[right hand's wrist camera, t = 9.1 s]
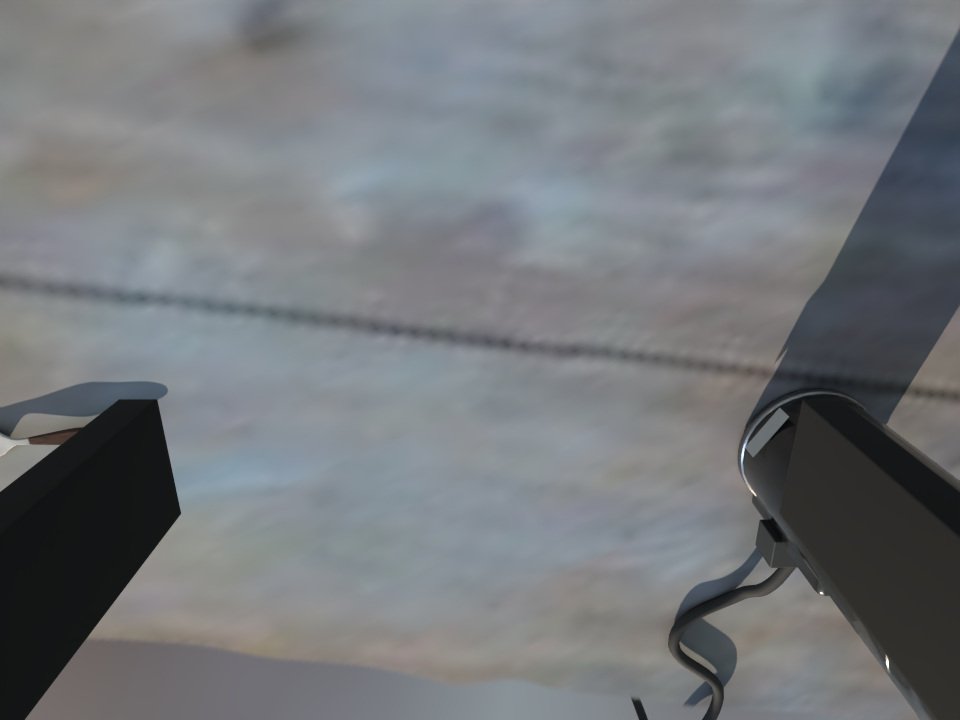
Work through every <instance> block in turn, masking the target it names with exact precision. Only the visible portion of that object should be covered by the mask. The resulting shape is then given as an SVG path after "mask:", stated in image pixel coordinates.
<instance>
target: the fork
mask: <svg viewBox="0 0 960 720" xmlns="http://www.w3.org/2000/svg"><path fill="white" fill-rule="evenodd" d="M81 429H82V428H73V429H67V430H61V431H57V432H52V433H47V434H43V435H38V436H33V437H28V438H22V439H14V438H11V437H8V436H6V435H4V434H2V433H0V456H2V455H4V454H5V453H6V452H7V451H9V450H10V449H11V448H12V447H13V446H16V445H23V444H39V445H61V444H63V443H64V442H65V441H67V440H68V439H69V438H70V437H72V436H73V435H74V434H76V433H77V432H78V431H80V430H81Z"/></svg>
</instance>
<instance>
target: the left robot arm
mask: <svg viewBox="0 0 960 720" xmlns="http://www.w3.org/2000/svg"><path fill="white" fill-rule="evenodd" d="M803 400H842V401H843V402H844V403H846V404H847V405H848V406H850V407H851V408H852V409H853V410H855V411H856V412H857V413H859V414H860V415H861V416H862V417H864V418H865V419H866V420H868V421H869V422H870V423H871V424H873V425H874V426H875V427H877V428H878V429H879V430H880V431H882V432H883V433H884V434H886V435H887V436H888V437H889V438H891V439H892V440H893V441H895V442H896V443H897V444H899V445H900V446H901V447H902V448H904V449H905V450H906V451H908V452H909V453H910V454H911V455H913V456H914V457H915V458H917V459H918V460H919V461H920V462H922V463H923V464H924V465H926V466H927V467H928V468H929V469H931V470H932V471H933V472H935V473H936V474H937V475H938V476H940V477H941V478H942V479H944V480H945V481H946V482H947V483H949V484H950V485H951V486H953V487H954V488H955V489H956V490H958V491H959V492H960V481H959V480H958V479H957V478H955V477H954V476H953V475H951V474H950V473H949V472H947V471H946V470H945V469H943V468H942V467H941V466H939V465H938V464H937V463H935V462H934V461H933V460H932V459H930V458H929V457H928V456H926V455H925V454H924V453H922V452H921V451H920V450H918V449H917V448H916V447H914V446H913V445H912V444H910V443H909V442H908V441H906V440H905V439H904V438H903V437H901V436H900V435H899V434H897V433H896V432H895V431H893V430H892V429H891V428H889V427H888V426H887V425H885V424H884V423H883V422H881V421H880V420H879V419H878V418H876V417H875V416H874V415H872V414H871V413H870V412H869V411H868V410H867V409H866V408H865V407H864V406H863V405H861V404H860V403H859V402H857V401H856V400H855V399H853V398H852V397H850V396H848V395H846V394H844V393H842V392H839V391H835V390H831V389H819V388H816V389H806V390H801V391H796V392H793V393H790V394H788V395H785V396H783V397H781V398H779V399H777V400H775V401H774V402H772V403H770V404H769V405H768V406H766V407H765V408H764V409H763V410H762V411H760V412H759V413H758V414H757V415H756V416H755V417H754V419H753V420H752V421H751V422H750V424H749V425H748V427H747V428H746V430H745V432H744V434H743V436H742V439H741V442H740V445H739V450H738V466H739V470H740V474H741V476H742V478H743V480H744V482H745V483H746V485H747V486H748V487H749V489H750V490H751V491H752V493H753V499H752V503H753V504H754V506H755V507H756V509H757V510H758V511H759V513H760V514H761V516H762V517H763V518H764V520H760V522H759V528H758V533H757V539H756V546H757V548H758V549H759V551H760V553H761V554H762V556H763V557H764V559H765V560H766V562H767V563H768V565H769V566H770V568H778V569H777V570H776V571H775V572H774V573H773V574H772V575H771V576H770V577H769V578H768V579H766V580H765V581H763V582H762V583H760V584H757V585H749V586H743V587H740V588H737V589H735V590H733V591H731V592H729V593H726V594H724V595H721V596H719V597H717V598H714V599H712V600H709V601H707V602H705V603H703V604H701V605H698V606H696V607H695V608H693V609H691V610H690V611H688V612H687V613H685V614H684V615H683V616H681V617H680V618H679V619H678V620H677V621H676V623H675V624H674V626H673V627H672V629H671V632H670V634H669V642H668V646H669V649H670V652H671V654H672V655H673V657H674V658H675V659H676V660H677V661H678V662H679V663H680V664H681V665H683V666H684V667H685V668H687V669H688V670H690V671H692V672H693V673H695V674H696V675H698V676H700V677H701V678H702V679H704V680H705V681H706V682H708V683H709V684H710V685H711V687H712V690H713V697H712V701H711V704H710V706H709V708H708V711H707V713H706V714H705V716H704V718H703V719H702V720H716V719H717V717H718V715H719V713H720V710H721V707H722V704H723V699H724V690H723V686H722V684H721V682H720V681H719V679H718V678H717V677H716V676H715V675H714V674H713V673H712V672H711V671H710V670H708V669H707V668H705V667H704V666H702V665H701V664H699V663H698V662H696V661H695V660H693V659H691V658H690V657H689V656H687V655H686V654H685V653H684V652H683V651H682V650H681V648H680V645H679V642H680V638H681V636H682V634H683V633H684V631H685V630H686V629H687V628H688V627H689V626H690V625H691V624H692V623H694V622H695V621H697V620H699V619H700V618H702V617H704V616H706V615H708V614H710V613H713V612H715V611H717V610H720V609H722V608H725V607H727V606H730V605H732V604H735V603H737V602H739V601H741V600H744V599H746V598H750V597H761V596H765V595H768V594H770V593H771V592H773V591H774V590H776V589H777V588H778V587H779V586H780V585H781V584H782V583H783V582H784V581H785V580H786V579H787V578H788V577H789V575H790V574H791V573H792V572H793V571H794V569H795V568H796V567H798V568H799V569H800V571H801V572H802V573H803V575H804V576H805V578H806V579H807V580H808V582H809V583H810V585H811V586H812V587H813V589H814V590H815V591H816V592H817V593H819V594H820V595H823V596H830V597H831V598H832V600H833V601H834V603H835V604H836V605H837V607H838V608H839V609H840V611H841V612H842V613H843V615H844V616H845V618H846V619H847V620H848V622H849V623H850V624H851V626H852V627H853V628H854V630H855V631H856V633H857V634H858V635H859V636H860V638H861V639H862V640H863V642H864V643H865V644H866V646H867V647H868V648H869V650H870V651H871V653H872V654H873V655H874V657H875V658H876V659H877V661H878V662H879V663H880V665H881V666H882V668H883V669H884V670H885V672H886V673H887V674H888V676H889V677H890V678H891V680H892V681H893V683H894V684H895V685H896V687H897V688H898V690H899V691H900V692H901V694H902V695H903V696H904V698H905V699H906V700H907V702H908V703H909V705H910V706H911V707H912V709H913V710H914V712H915V713H916V714H917V716H918V717H919V718H920V720H935V719H934V717H933V716H932V715H931V713H930V712H929V711H928V709H927V708H926V707H925V705H924V704H923V703H922V701H921V700H920V699H919V697H918V696H917V695H916V694H915V692H914V691H913V690H912V688H911V687H910V686H909V684H908V683H907V682H906V680H905V679H904V678H903V676H902V675H901V674H900V672H899V671H898V670H897V668H896V667H895V666H894V665H893V663H892V662H891V661H890V659H889V658H888V657H887V655H886V654H885V653H884V651H883V650H882V649H881V647H880V646H879V645H878V643H877V642H876V641H875V640H874V638H873V637H872V636H871V634H870V633H869V632H868V630H867V629H866V628H865V626H864V625H863V624H862V622H861V621H860V620H859V618H858V617H857V616H856V614H855V613H854V612H853V611H852V609H851V608H850V607H849V605H848V604H847V603H846V601H845V600H844V599H843V597H842V596H841V595H840V593H839V592H838V591H837V589H836V588H835V587H834V585H833V584H832V583H831V582H830V580H829V579H828V578H827V576H826V575H825V574H824V572H823V571H822V570H821V568H820V567H819V566H818V564H817V563H816V562H815V560H814V559H813V558H812V556H811V555H810V554H809V553H808V551H807V550H806V549H805V547H804V546H803V545H802V543H801V542H800V541H799V539H798V538H797V537H796V535H795V534H794V533H793V531H792V530H791V529H790V527H789V526H788V525H787V524H786V522H785V521H784V520H783V518H782V517H781V516H780V514H779V511H780V506H781V502H782V497H783V492H784V487H785V482H786V478H787V473H788V468H789V463H790V459H791V454H792V449H793V444H794V440H795V435H796V430H797V425H798V420H799V416H800V411H801V406H802V401H803ZM631 700H632V702H633V705H634V708H635V710H636V713H637V716H638V719H639V720H648V718H647V715H646V712H645V710H644V707H643V705H642V702H641V700H640V699H635V698H631Z"/></svg>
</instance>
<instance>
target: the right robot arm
mask: <svg viewBox="0 0 960 720" xmlns="http://www.w3.org/2000/svg"><path fill="white" fill-rule="evenodd" d="M180 514H181V511H180V506H179V502H178V497H177V492H176V487H175V482H174V478H173V473H172V468H171V463H170V459H169V454H168V449H167V444H166V440H165V435H164V430H163V425H162V420H161V416H160V411H159V406H158V401H157V400H118V401H117V402H116V403H114V404H113V405H112V406H110V407H109V408H108V409H107V410H105V411H104V412H103V413H101V414H100V415H99V416H98V417H96V418H95V419H94V420H92V421H91V422H90V423H89V424H87V425H86V426H85V427H83V428H82V429H81V430H80V431H78V432H77V433H76V434H74V435H73V436H72V437H70V438H69V439H68V440H67V441H65V442H64V443H63V444H61V445H60V446H59V447H58V448H56V449H55V450H54V451H52V452H51V453H50V454H49V455H47V456H46V457H45V458H43V459H42V460H41V461H40V462H38V463H37V464H36V465H34V466H33V467H32V468H31V469H29V470H28V471H27V472H25V473H24V474H23V475H22V476H20V477H19V478H18V479H16V480H15V481H14V482H13V483H11V484H10V485H9V486H7V487H6V488H5V489H4V490H2V491H1V492H0V720H25V718H26V717H27V716H28V715H29V713H30V712H31V711H32V709H33V708H34V707H35V705H36V704H37V703H38V701H39V700H40V699H41V697H42V696H43V695H44V693H45V692H46V691H47V690H48V688H49V687H50V686H51V684H52V683H53V682H54V680H55V679H56V678H57V676H58V675H59V674H60V672H61V671H62V670H63V668H64V667H65V666H66V664H67V663H68V662H69V661H70V659H71V658H72V657H73V655H74V654H75V653H76V651H77V650H78V649H79V647H80V646H81V645H82V643H83V642H84V641H85V640H86V638H87V637H88V636H89V634H90V633H91V632H92V630H93V629H94V628H95V626H96V625H97V624H98V622H99V621H100V620H101V618H102V617H103V616H104V614H105V613H106V612H107V611H108V609H109V608H110V607H111V605H112V604H113V603H114V601H115V600H116V599H117V597H118V596H119V595H120V593H121V592H122V591H123V589H124V588H125V587H126V585H127V584H128V583H129V582H130V580H131V579H132V578H133V576H134V575H135V574H136V572H137V571H138V570H139V568H140V567H141V566H142V564H143V563H144V562H145V560H146V559H147V558H148V556H149V555H150V554H151V553H152V551H153V550H154V549H155V547H156V546H157V545H158V543H159V542H160V541H161V539H162V538H163V537H164V535H165V534H166V533H167V531H168V530H169V529H170V527H171V526H172V525H173V524H174V522H175V521H176V520H177V518H178V517H179V516H180ZM779 514H780V516H781V517H782V518H783V520H784V521H785V522H786V524H787V525H788V526H789V527H790V529H791V530H792V531H793V533H794V534H795V535H796V537H797V538H798V539H799V541H800V542H801V543H802V545H803V546H804V547H805V549H806V550H807V551H808V553H809V554H810V555H811V556H812V558H813V559H814V560H815V562H816V563H817V564H818V566H819V567H820V568H821V570H822V571H823V572H824V574H825V575H826V576H827V578H828V579H829V580H830V582H831V583H832V584H833V585H834V587H835V588H836V589H837V591H838V592H839V593H840V595H841V596H842V597H843V599H844V600H845V601H846V603H847V604H848V605H849V607H850V608H851V609H852V611H853V612H854V613H855V614H856V616H857V617H858V618H859V620H860V621H861V622H862V624H863V625H864V626H865V628H866V629H867V630H868V632H869V633H870V634H871V636H872V637H873V638H874V640H875V641H876V642H877V643H878V645H879V646H880V647H881V649H882V650H883V651H884V653H885V654H886V655H887V657H888V658H889V659H890V661H891V662H892V663H893V665H894V666H895V667H896V668H897V670H898V671H899V672H900V674H901V675H902V676H903V678H904V679H905V680H906V682H907V683H908V684H909V686H910V687H911V688H912V690H913V691H914V692H915V694H916V695H917V696H918V697H919V699H920V700H921V701H922V703H923V704H924V705H925V707H926V708H927V709H928V711H929V712H930V713H931V715H932V716H933V717H934V719H935V720H960V492H959V491H958V490H956V489H955V488H954V487H953V486H951V485H950V484H949V483H947V482H946V481H945V480H944V479H942V478H941V477H940V476H938V475H937V474H936V473H935V472H933V471H932V470H931V469H929V468H928V467H927V466H926V465H924V464H923V463H922V462H920V461H919V460H918V459H917V458H915V457H914V456H913V455H911V454H910V453H909V452H908V451H906V450H905V449H904V448H902V447H901V446H900V445H899V444H897V443H896V442H895V441H893V440H892V439H891V438H889V437H888V436H887V435H886V434H884V433H883V432H882V431H880V430H879V429H878V428H877V427H875V426H874V425H873V424H871V423H870V422H869V421H868V420H866V419H865V418H864V417H862V416H861V415H860V414H859V413H857V412H856V411H855V410H853V409H852V408H851V407H850V406H848V405H847V404H846V403H844V402H843V401H842V400H803V401H802V406H801V411H800V416H799V420H798V425H797V430H796V435H795V440H794V444H793V449H792V454H791V459H790V463H789V468H788V473H787V478H786V482H785V487H784V492H783V497H782V502H781V506H780V511H779Z"/></svg>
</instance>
